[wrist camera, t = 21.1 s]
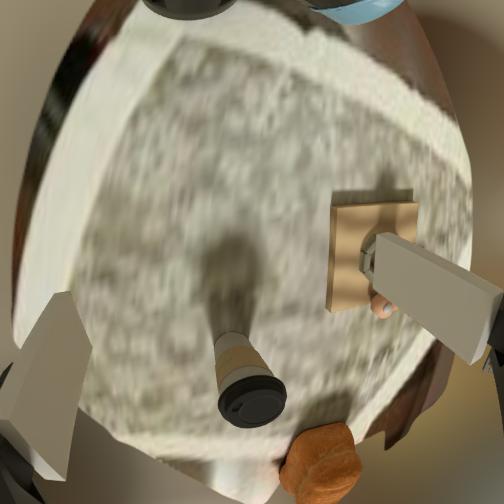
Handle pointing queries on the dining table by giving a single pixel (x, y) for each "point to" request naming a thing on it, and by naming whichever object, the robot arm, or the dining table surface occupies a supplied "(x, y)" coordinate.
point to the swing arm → (382, 306)
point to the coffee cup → (246, 383)
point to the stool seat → (362, 247)
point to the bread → (321, 465)
